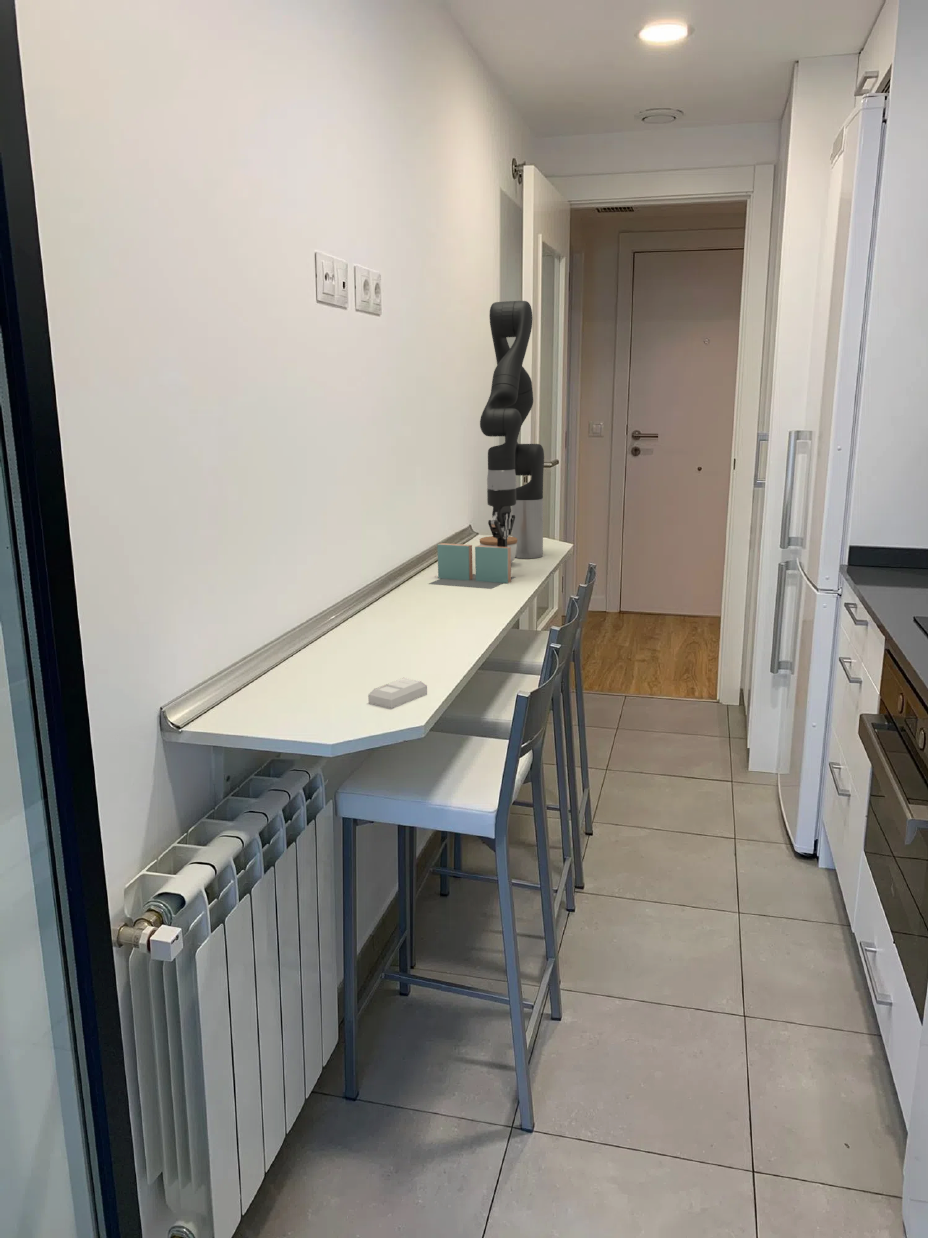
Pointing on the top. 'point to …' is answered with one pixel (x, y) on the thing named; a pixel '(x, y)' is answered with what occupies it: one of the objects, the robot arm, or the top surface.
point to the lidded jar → (493, 542)
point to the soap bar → (397, 692)
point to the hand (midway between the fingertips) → (502, 552)
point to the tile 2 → (493, 564)
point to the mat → (467, 583)
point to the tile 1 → (455, 561)
